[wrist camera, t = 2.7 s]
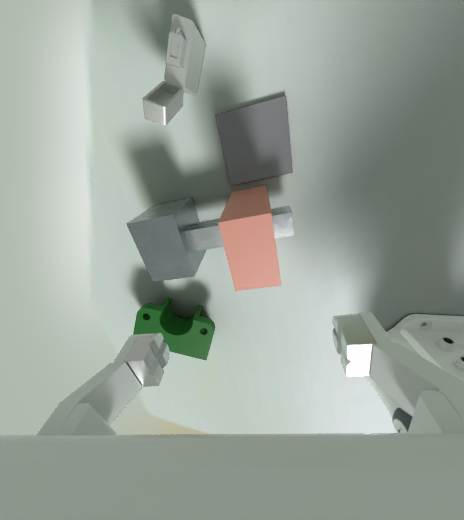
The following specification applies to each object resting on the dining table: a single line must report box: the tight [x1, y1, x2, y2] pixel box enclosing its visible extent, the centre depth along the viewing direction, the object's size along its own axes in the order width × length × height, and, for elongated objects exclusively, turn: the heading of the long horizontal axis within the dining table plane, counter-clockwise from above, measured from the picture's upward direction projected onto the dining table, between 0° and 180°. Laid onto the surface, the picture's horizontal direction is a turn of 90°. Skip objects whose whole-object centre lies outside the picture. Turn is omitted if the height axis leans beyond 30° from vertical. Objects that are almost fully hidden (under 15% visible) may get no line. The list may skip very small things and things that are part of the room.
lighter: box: [143, 14, 206, 125], centre depth 18 cm, size 7×2×8 cm, turn 163°
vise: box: [127, 198, 294, 282], centre depth 25 cm, size 16×7×7 cm, turn 102°
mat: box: [216, 96, 293, 186], centre depth 24 cm, size 7×7×1 cm
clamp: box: [133, 297, 215, 360], centre depth 34 cm, size 12×6×9 cm, turn 70°
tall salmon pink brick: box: [218, 185, 281, 291], centre depth 23 cm, size 4×6×11 cm, turn 12°
